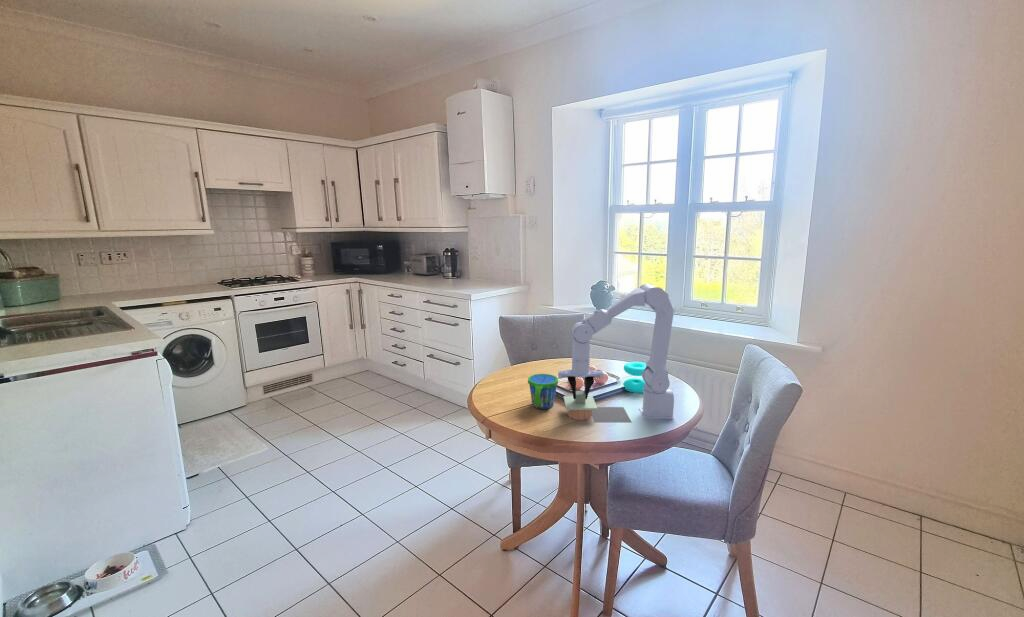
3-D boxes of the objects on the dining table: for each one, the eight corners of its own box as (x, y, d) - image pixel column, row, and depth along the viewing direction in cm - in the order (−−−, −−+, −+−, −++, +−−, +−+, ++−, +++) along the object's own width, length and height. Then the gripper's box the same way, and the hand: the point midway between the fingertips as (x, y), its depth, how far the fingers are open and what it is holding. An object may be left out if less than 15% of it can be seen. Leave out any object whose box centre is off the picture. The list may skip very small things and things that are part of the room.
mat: (623, 408, 151) (623, 407, 151) (631, 423, 140) (631, 422, 140) (588, 408, 152) (588, 406, 152) (594, 423, 140) (594, 422, 140)
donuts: (621, 360, 172) (646, 360, 172) (620, 384, 174) (645, 384, 174) (627, 368, 162) (654, 368, 162) (626, 394, 164) (652, 394, 164)
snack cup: (549, 417, 145) (549, 388, 143) (520, 411, 149) (520, 383, 147) (563, 400, 159) (564, 373, 157) (537, 395, 163) (537, 369, 161)
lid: (592, 397, 150) (592, 387, 149) (597, 409, 140) (597, 398, 140) (563, 397, 150) (563, 387, 150) (566, 409, 140) (566, 398, 140)
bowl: (589, 410, 150) (590, 399, 149) (593, 420, 142) (593, 409, 141) (566, 410, 150) (566, 399, 149) (568, 420, 142) (569, 409, 141)
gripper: (559, 362, 139) (559, 402, 141) (605, 362, 138) (604, 402, 141) (557, 356, 145) (557, 394, 148) (601, 356, 145) (600, 394, 148)
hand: (580, 398), depth 145 cm, fingers closed on lid, 3 cm apart
